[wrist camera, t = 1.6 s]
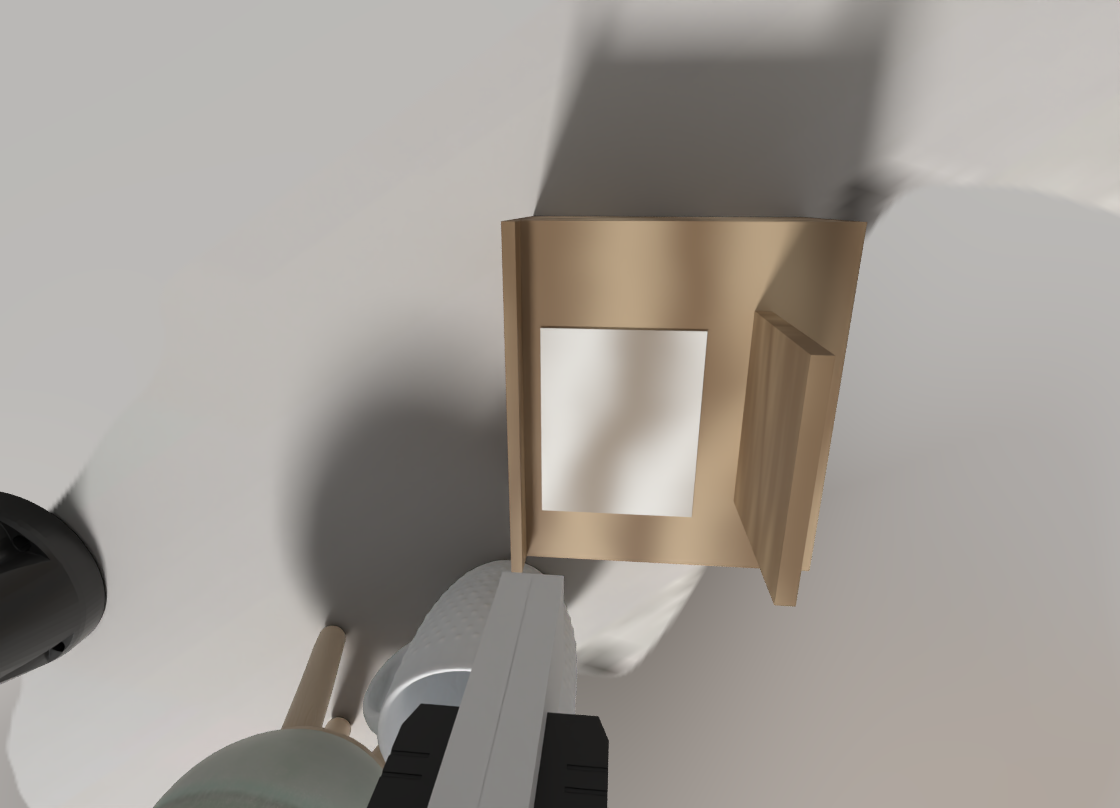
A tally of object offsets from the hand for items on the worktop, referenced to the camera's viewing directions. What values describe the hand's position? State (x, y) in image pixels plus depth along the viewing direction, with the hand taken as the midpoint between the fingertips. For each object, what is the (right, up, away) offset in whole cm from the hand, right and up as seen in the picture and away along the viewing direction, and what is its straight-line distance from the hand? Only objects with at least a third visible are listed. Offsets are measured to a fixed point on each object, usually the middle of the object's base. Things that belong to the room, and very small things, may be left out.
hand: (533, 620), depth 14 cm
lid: (+6, +5, +16) cm, 17 cm away
